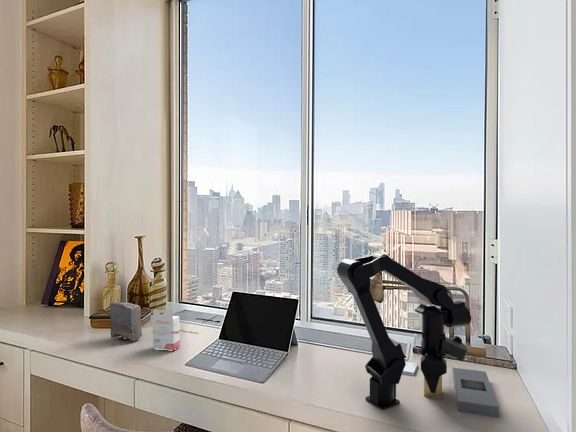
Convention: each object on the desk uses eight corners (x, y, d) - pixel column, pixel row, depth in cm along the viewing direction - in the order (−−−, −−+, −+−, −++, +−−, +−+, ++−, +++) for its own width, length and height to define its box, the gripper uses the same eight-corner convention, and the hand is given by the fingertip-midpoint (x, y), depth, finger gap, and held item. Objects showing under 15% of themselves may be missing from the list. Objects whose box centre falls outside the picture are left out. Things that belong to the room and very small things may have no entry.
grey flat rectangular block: (498, 417, 95) (498, 406, 94) (458, 410, 98) (458, 400, 97) (485, 379, 115) (485, 371, 115) (452, 375, 118) (452, 367, 118)
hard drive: (418, 363, 126) (379, 356, 131) (414, 372, 118) (373, 365, 124) (418, 368, 126) (379, 361, 131) (414, 378, 118) (373, 370, 124)
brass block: (442, 398, 104) (442, 372, 104) (424, 396, 105) (424, 370, 105) (441, 391, 108) (441, 366, 108) (424, 389, 110) (424, 364, 110)
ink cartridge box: (180, 347, 143) (180, 307, 143) (173, 352, 139) (173, 311, 138) (159, 345, 145) (159, 306, 145) (152, 350, 141) (151, 309, 140)
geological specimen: (142, 339, 152) (142, 301, 152) (130, 344, 147) (130, 304, 147) (121, 336, 156) (121, 298, 156) (109, 340, 151) (108, 302, 151)
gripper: (468, 342, 95) (468, 406, 95) (462, 322, 113) (461, 375, 113) (420, 338, 99) (420, 399, 99) (421, 318, 116) (421, 370, 117)
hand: (432, 385), depth 107 cm, fingers open, 9 cm apart
